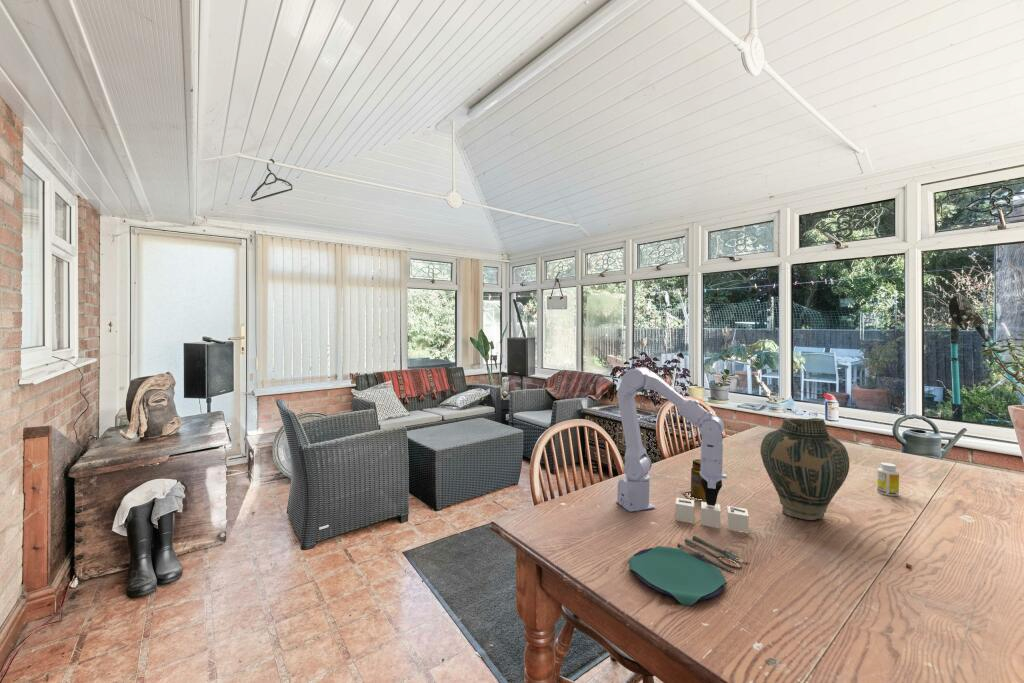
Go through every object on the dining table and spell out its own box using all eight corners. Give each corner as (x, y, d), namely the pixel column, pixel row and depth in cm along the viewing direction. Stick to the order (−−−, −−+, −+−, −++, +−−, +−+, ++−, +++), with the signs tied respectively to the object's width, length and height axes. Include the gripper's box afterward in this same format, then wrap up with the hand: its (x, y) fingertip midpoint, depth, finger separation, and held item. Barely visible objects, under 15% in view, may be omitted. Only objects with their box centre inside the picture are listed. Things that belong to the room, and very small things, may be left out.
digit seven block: (748, 533, 114) (748, 515, 114) (728, 530, 116) (728, 511, 116) (746, 526, 119) (746, 508, 119) (727, 522, 121) (727, 505, 121)
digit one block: (693, 523, 120) (693, 505, 120) (675, 520, 122) (675, 502, 122) (693, 516, 125) (694, 499, 125) (676, 513, 127) (676, 496, 127)
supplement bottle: (900, 494, 143) (900, 464, 143) (897, 498, 140) (897, 468, 139) (878, 489, 147) (879, 460, 147) (875, 493, 144) (876, 463, 144)
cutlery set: (612, 569, 97) (612, 560, 97) (688, 537, 113) (688, 529, 113) (689, 620, 80) (689, 608, 80) (765, 573, 97) (766, 564, 97)
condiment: (716, 500, 137) (716, 464, 137) (692, 501, 136) (692, 465, 136) (702, 491, 144) (703, 457, 144) (680, 492, 143) (680, 458, 143)
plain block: (720, 528, 117) (720, 511, 117) (701, 525, 119) (701, 508, 119) (719, 521, 122) (719, 504, 122) (701, 518, 124) (701, 501, 124)
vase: (866, 535, 113) (869, 427, 113) (776, 527, 118) (778, 422, 117) (823, 503, 135) (825, 411, 134) (748, 497, 140) (750, 408, 139)
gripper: (728, 467, 112) (727, 517, 112) (725, 453, 125) (725, 498, 125) (699, 464, 115) (699, 512, 115) (700, 450, 128) (699, 494, 128)
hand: (710, 504), depth 120 cm, fingers closed
